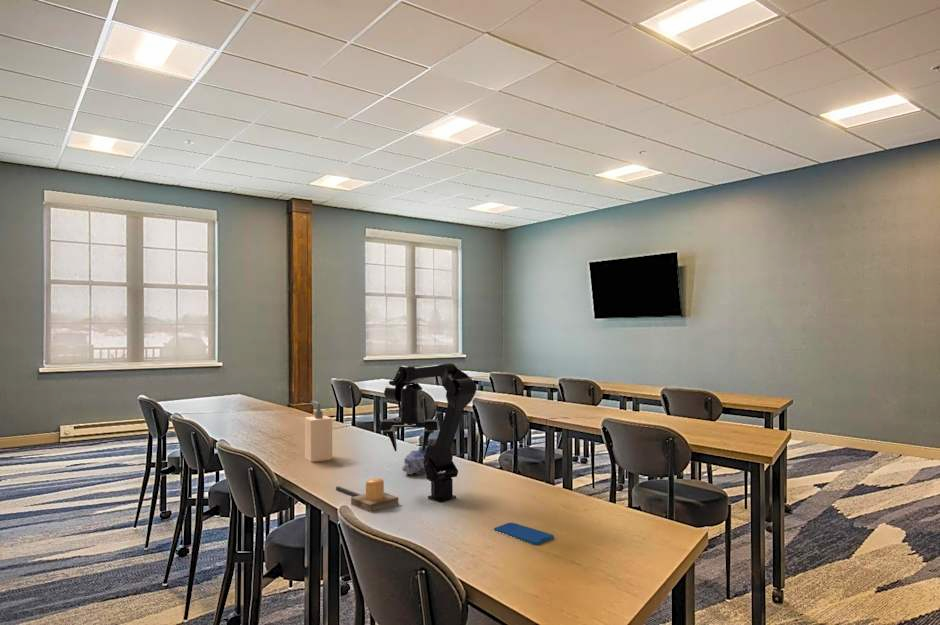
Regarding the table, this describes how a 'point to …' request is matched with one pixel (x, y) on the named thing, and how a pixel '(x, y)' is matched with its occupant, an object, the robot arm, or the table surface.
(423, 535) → the table surface
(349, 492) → the bar
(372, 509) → the peg block
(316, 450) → the soap dispenser
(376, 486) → the orange domed octagonal post
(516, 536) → the smartphone
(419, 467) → the mineral
